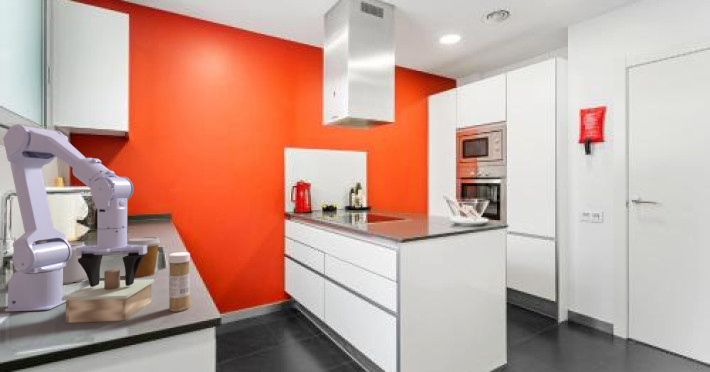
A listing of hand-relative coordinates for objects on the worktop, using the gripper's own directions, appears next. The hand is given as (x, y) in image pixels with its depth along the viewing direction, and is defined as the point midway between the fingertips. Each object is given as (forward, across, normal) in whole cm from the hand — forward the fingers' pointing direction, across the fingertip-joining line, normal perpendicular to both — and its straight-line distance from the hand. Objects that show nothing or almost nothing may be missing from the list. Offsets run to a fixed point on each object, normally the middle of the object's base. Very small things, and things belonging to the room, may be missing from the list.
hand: (112, 285), depth 79 cm
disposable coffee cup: (+6, -9, +34) cm, 36 cm away
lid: (+1, 0, 0) cm, 1 cm away
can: (+6, -27, +28) cm, 39 cm away
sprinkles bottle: (+6, +15, 0) cm, 16 cm away
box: (+6, 0, 0) cm, 6 cm away
